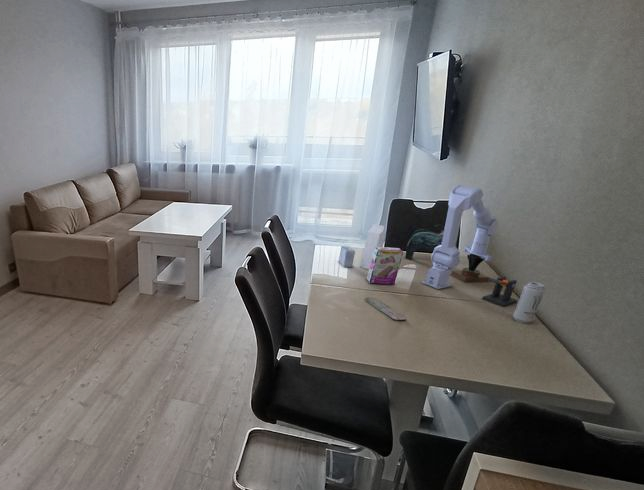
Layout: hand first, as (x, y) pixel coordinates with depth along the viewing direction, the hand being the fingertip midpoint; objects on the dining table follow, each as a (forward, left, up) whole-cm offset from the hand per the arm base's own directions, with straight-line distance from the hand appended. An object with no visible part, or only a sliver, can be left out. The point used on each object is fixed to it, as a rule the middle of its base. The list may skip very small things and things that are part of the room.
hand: (471, 270), depth 195 cm
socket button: (0, 0, -2) cm, 2 cm away
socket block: (0, 0, -4) cm, 4 cm away
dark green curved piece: (+2, +24, -4) cm, 25 cm away
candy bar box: (-45, +13, -4) cm, 47 cm away
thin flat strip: (-67, -7, -4) cm, 68 cm away
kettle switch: (-18, -21, +4) cm, 28 cm away
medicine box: (-42, +37, -4) cm, 56 cm away
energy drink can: (-25, -35, -4) cm, 43 cm away
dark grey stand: (-14, -21, -4) cm, 26 cm away
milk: (-34, +29, -4) cm, 45 cm away
